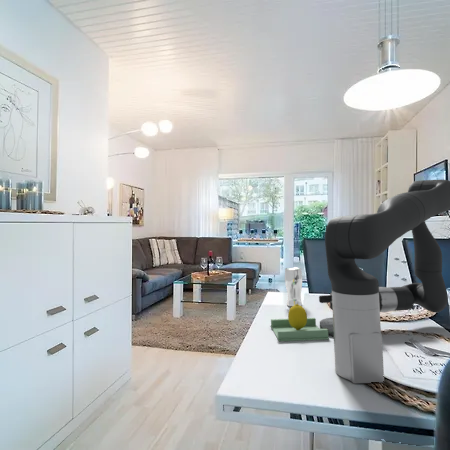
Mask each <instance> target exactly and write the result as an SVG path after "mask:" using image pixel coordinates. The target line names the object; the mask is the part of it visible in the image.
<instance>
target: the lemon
mask: <svg viewBox="0 0 450 450" xmlns="http://www.w3.org/2000/svg"><path fill="white" fill-rule="evenodd" d="M287 316H288V317H287V319H288V320H289V323H290V325H291V326H292V327H293V328H295V329H296V330H300V329H302V328H303V327H304V326H305V325H306V323H307V318H308V314H307V310H306V309H305V308H304V307H303V305H302V306H300V305H298V304H296V305H294V306H292V307H290V308H289V310H288V314H287Z"/></svg>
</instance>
